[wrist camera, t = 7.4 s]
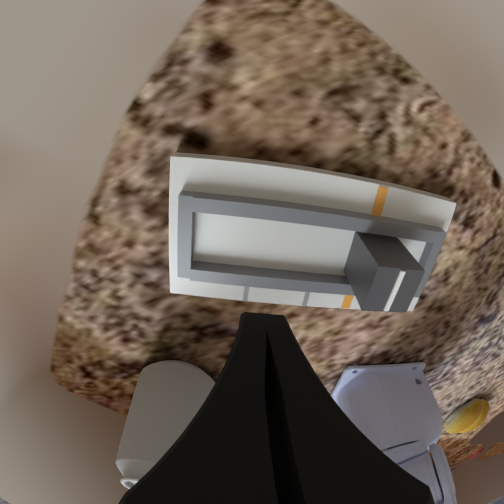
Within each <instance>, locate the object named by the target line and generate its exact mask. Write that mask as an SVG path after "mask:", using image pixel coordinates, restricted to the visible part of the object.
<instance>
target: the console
mask: <svg viewBox="0 0 504 504" xmlns="http://www.w3.org/2000/svg"><path fill="white" fill-rule="evenodd" d="M456 204H457V203H455V202H454V201H452V200H451V199H449V198H448V197H445V196H441V195H438V194H434V193H430V192H426V191H422V190H419V189H415V188H411V187H407V186H402V185H398V184H394V183H390V182H385V181H381V180H376V179H371V178H367V177H362V176H357V175H352V174H347V173H341V172H336V171H330V170H325V169H319V168H313V167H307V166H300V165H294V164H287V163H280V162H272V161H265V160H256V159H248V158H239V157H229V156H219V155H207V154H195V153H180V152H176V153H174V154H173V155H172V156H171V160H170V186H169V272H170V293H177V294H185V295H194V296H203V297H211V298H221V299H230V300H240V301H251V302H262V303H273V304H286V305H299V306H313V307H328V308H345V309H361V308H360V306H359V303H358V301H357V299H356V297H355V294H354V292H353V290H352V288H351V286H350V283H349V281H348V279H347V277H346V275H345V273H344V267H345V264H346V261H347V257H348V254H349V251H350V248H351V244H352V241H353V237H354V234H355V231H357V232H364V233H371V234H378V235H384V236H391V237H397V238H398V239H399V240H400V241H401V243H402V244H403V245H404V246H405V247H406V248H407V250H408V251H409V252H410V253H411V254H412V256H413V257H414V258H415V259H416V260H417V262H418V263H419V264H420V265H421V267H422V268H423V269H424V270H425V273H424V275H423V277H422V280H421V282H420V284H419V286H418V289H417V291H416V293H415V295H414V297H413V299H412V301H411V303H410V305H409V308H408V310H407V311H413V309H414V307H415V305H416V303H417V301H418V299H419V297H420V295H421V293H422V291H423V289H424V286H425V284H426V282H427V280H428V278H429V275H430V273H431V271H432V268H433V266H434V264H435V261H436V259H437V257H438V254H439V252H440V249H441V247H442V244H443V241H444V239H445V236H446V234H447V230H448V227H449V225H450V222H451V219H452V216H453V213H454V210H455V207H456Z"/></svg>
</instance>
